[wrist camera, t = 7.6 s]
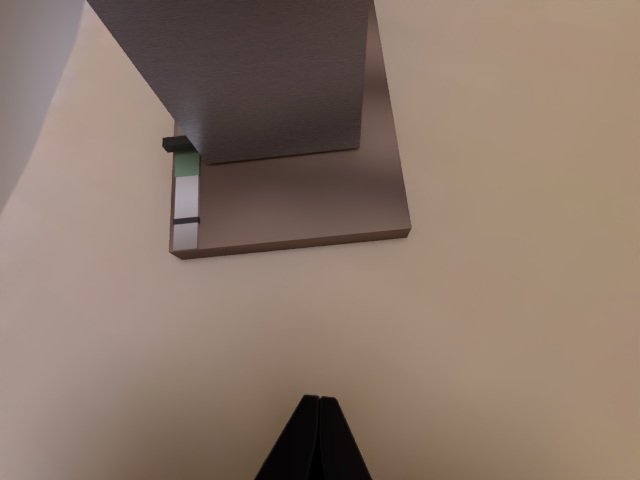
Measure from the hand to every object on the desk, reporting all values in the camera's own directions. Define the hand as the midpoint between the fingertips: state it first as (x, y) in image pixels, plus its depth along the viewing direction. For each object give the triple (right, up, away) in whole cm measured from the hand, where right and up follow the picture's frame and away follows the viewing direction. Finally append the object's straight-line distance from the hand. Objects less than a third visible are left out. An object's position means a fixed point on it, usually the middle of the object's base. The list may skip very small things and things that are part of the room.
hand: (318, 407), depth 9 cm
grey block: (-3, +12, +11) cm, 16 cm away
